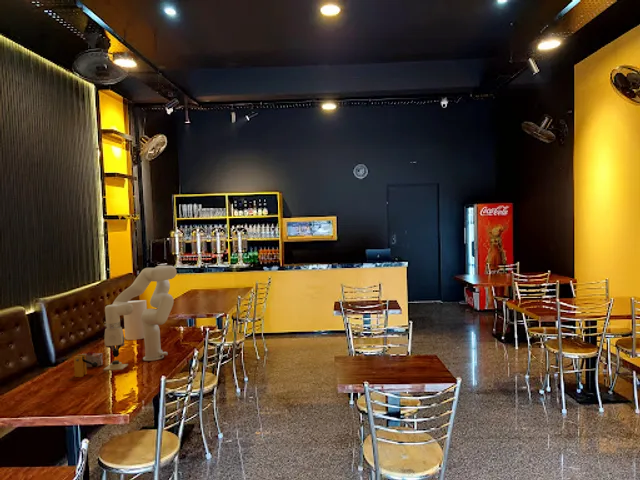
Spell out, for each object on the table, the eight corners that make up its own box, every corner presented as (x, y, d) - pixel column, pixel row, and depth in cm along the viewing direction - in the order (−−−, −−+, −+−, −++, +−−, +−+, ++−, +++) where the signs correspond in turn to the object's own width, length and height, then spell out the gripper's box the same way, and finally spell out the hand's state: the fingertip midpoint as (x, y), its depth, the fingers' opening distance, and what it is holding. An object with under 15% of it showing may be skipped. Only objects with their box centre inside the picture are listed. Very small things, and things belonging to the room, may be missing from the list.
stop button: (119, 363, 296) (119, 360, 296) (117, 364, 292) (117, 361, 292) (113, 363, 296) (113, 360, 296) (111, 365, 292) (111, 362, 292)
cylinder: (144, 339, 373) (142, 302, 372) (121, 340, 373) (118, 303, 372) (152, 333, 390) (150, 298, 389) (130, 334, 390) (128, 299, 389)
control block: (128, 367, 299) (127, 360, 298) (122, 372, 290) (122, 365, 289) (109, 368, 298) (109, 361, 298) (103, 373, 289) (103, 366, 289)
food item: (105, 365, 306) (104, 349, 306) (100, 369, 298) (99, 352, 298) (82, 366, 305) (81, 350, 305) (76, 370, 297) (75, 354, 297)
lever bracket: (93, 375, 286) (91, 353, 285) (86, 379, 278) (85, 357, 277) (75, 376, 286) (73, 354, 285) (68, 380, 278) (67, 357, 277)
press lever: (97, 367, 283) (99, 362, 283) (95, 369, 280) (97, 364, 280) (77, 359, 283) (79, 354, 283) (75, 361, 280) (77, 355, 280)
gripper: (97, 328, 289) (100, 359, 290) (123, 326, 289) (126, 357, 291) (103, 325, 297) (106, 355, 298) (128, 323, 297) (131, 353, 298)
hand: (116, 356), depth 294 cm, fingers closed
